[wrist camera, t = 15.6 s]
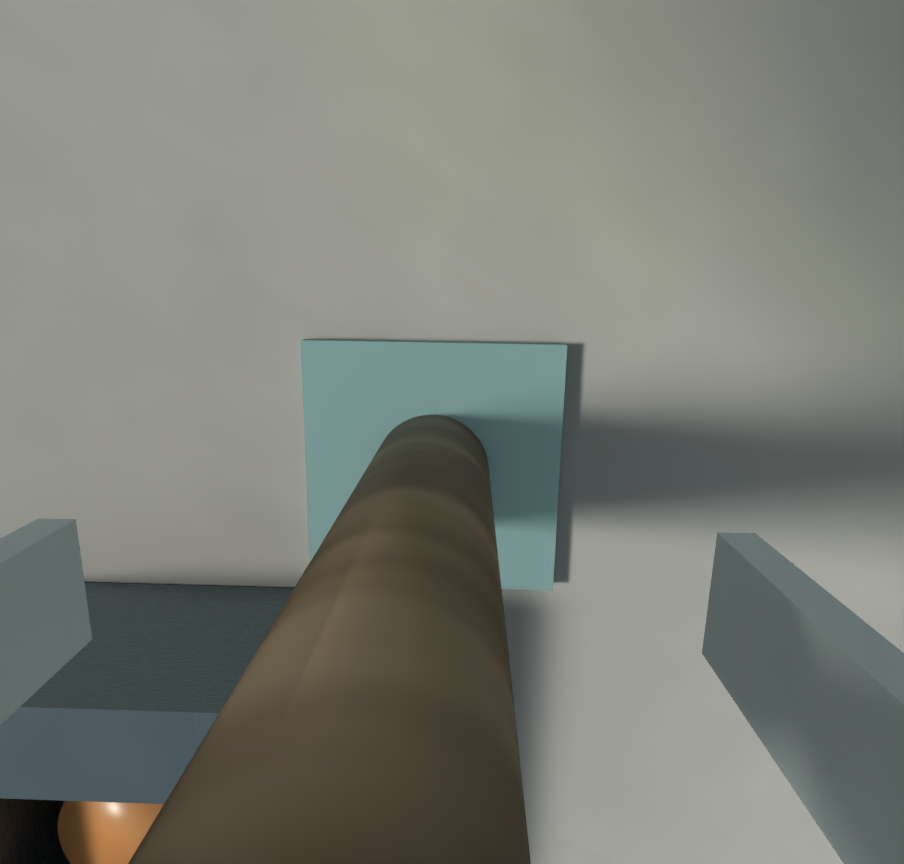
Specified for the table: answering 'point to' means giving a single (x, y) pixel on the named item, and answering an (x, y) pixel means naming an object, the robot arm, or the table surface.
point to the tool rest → (451, 395)
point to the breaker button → (103, 830)
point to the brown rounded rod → (372, 690)
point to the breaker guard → (126, 704)
